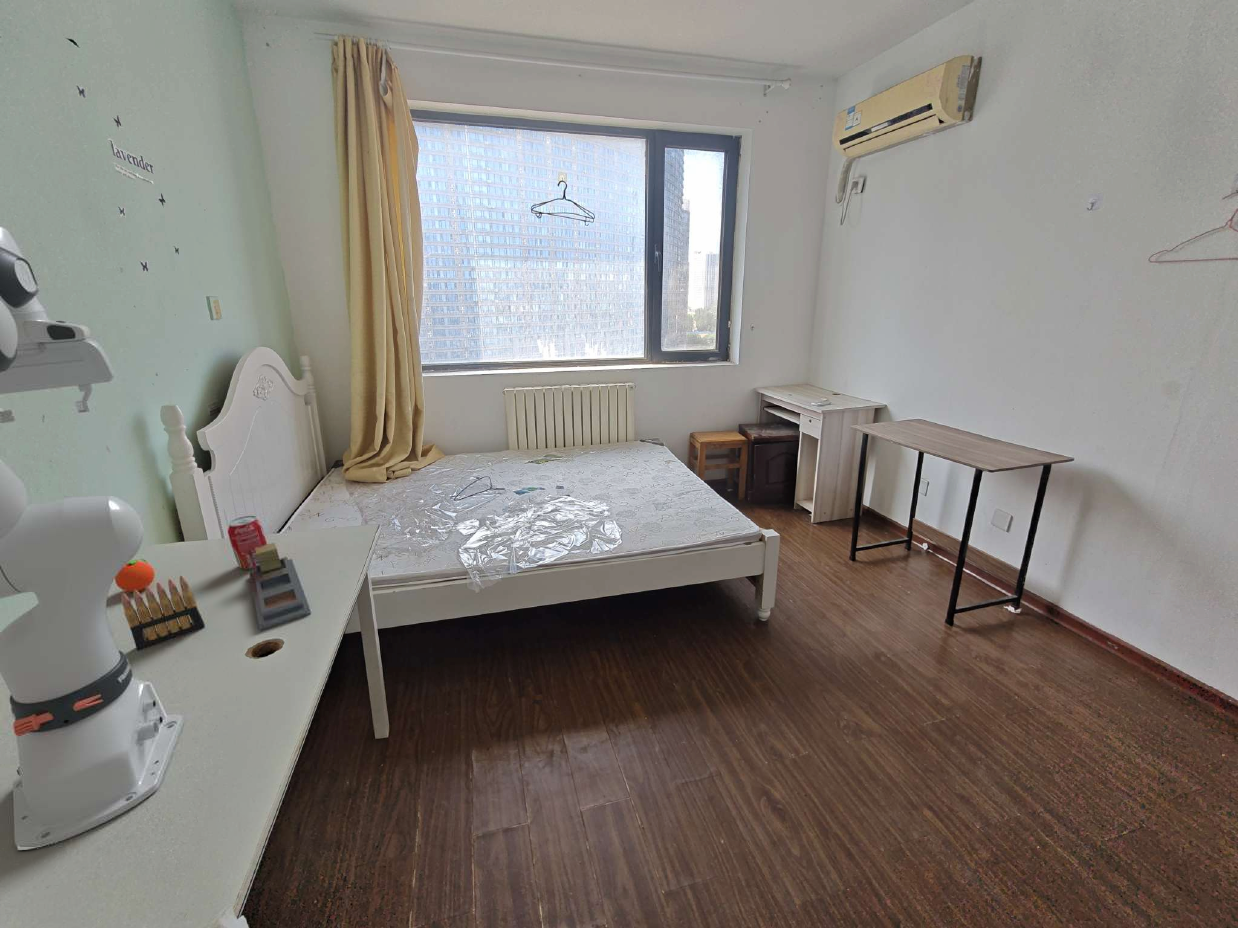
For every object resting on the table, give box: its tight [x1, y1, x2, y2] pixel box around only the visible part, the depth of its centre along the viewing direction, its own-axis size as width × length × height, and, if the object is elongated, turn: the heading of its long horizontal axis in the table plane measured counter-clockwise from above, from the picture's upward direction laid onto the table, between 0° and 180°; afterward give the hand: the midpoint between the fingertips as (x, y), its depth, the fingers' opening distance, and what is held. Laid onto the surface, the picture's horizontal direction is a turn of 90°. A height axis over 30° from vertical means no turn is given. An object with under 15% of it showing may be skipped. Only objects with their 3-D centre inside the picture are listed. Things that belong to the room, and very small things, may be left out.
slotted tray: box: [248, 556, 312, 631], centre depth 122 cm, size 28×9×3 cm, turn 36°
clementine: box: [114, 558, 156, 593], centre depth 127 cm, size 8×7×7 cm
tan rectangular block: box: [255, 542, 282, 575], centre depth 128 cm, size 4×4×6 cm
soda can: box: [227, 515, 268, 570], centre depth 135 cm, size 7×7×12 cm
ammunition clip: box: [121, 575, 206, 651], centre depth 107 cm, size 11×2×12 cm, turn 130°
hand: (47, 416), depth 92 cm, fingers open, 8 cm apart
